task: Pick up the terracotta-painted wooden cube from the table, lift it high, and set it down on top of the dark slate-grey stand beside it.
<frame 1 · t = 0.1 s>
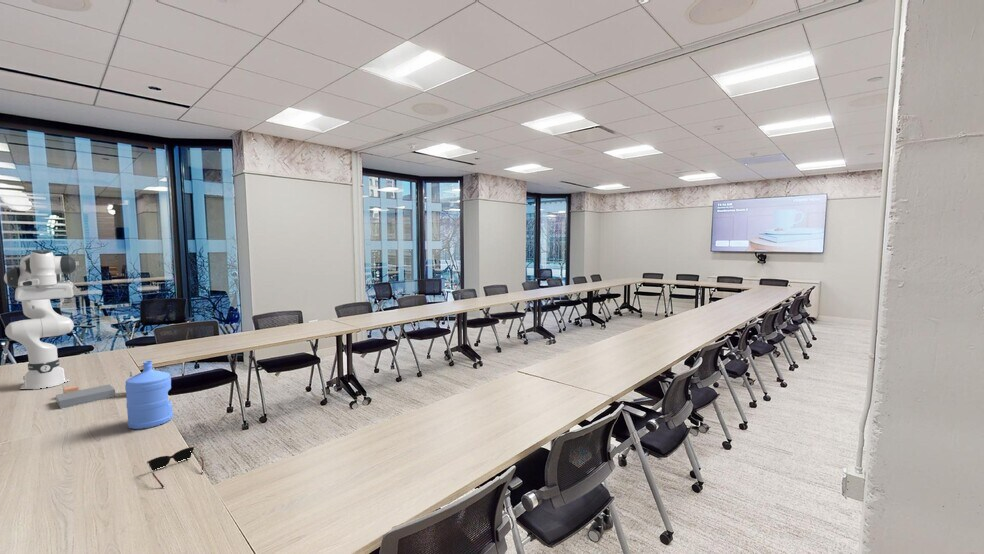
hand: (46, 308, 206), 48 cm above the table, tool pointing down, fingers open, 8 cm apart
cube: (71, 396, 211), on the table
mug: (136, 394, 216), on the table
stand: (86, 399, 207), on the table
sunglasses: (177, 474, 140), on the table
water jug: (151, 422, 180), on the table
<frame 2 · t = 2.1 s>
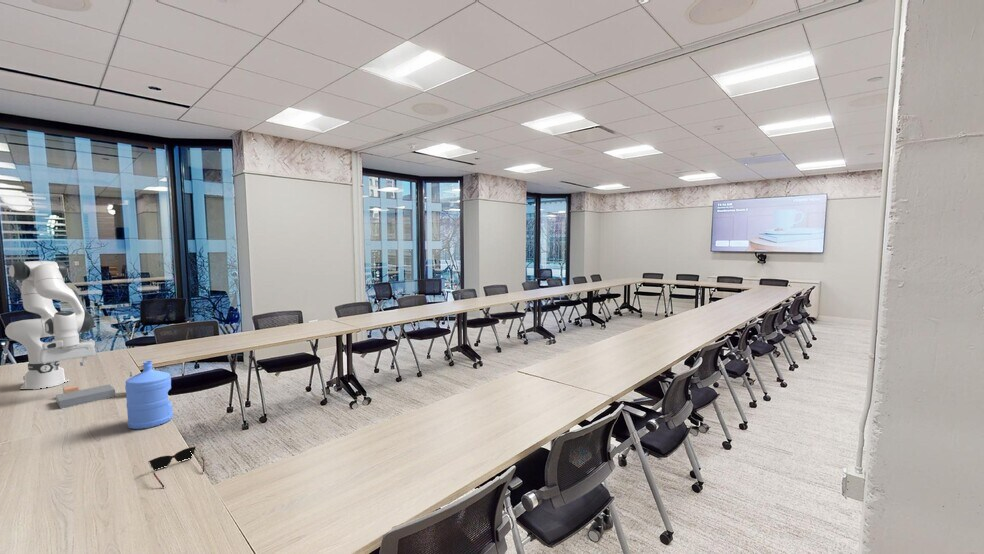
hand: (69, 367, 210), 16 cm above the table, tool pointing down, fingers open, 8 cm apart
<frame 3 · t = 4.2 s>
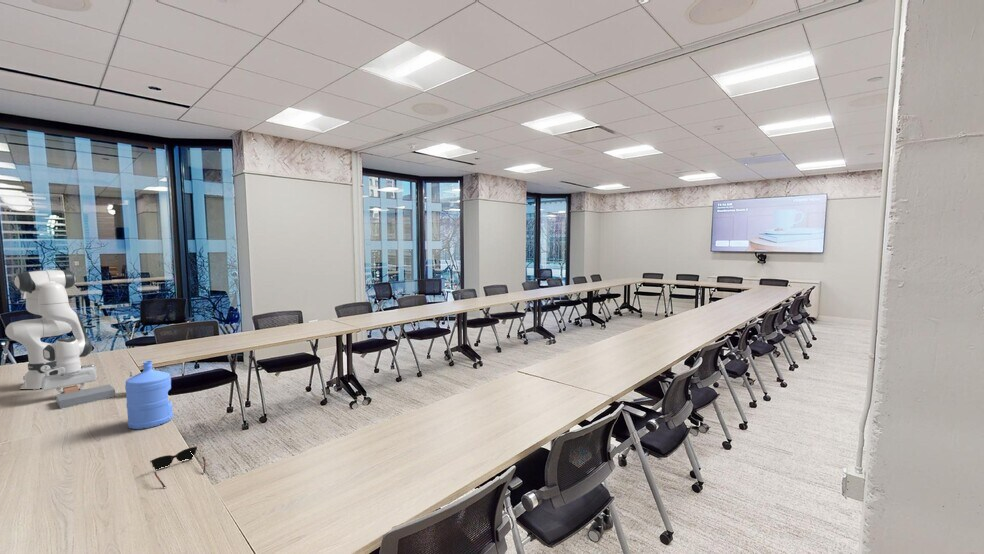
hand: (71, 393, 211), 2 cm above the table, tool pointing down, fingers closed on cube, 5 cm apart
cube: (71, 396, 211), on the table, touching gripper
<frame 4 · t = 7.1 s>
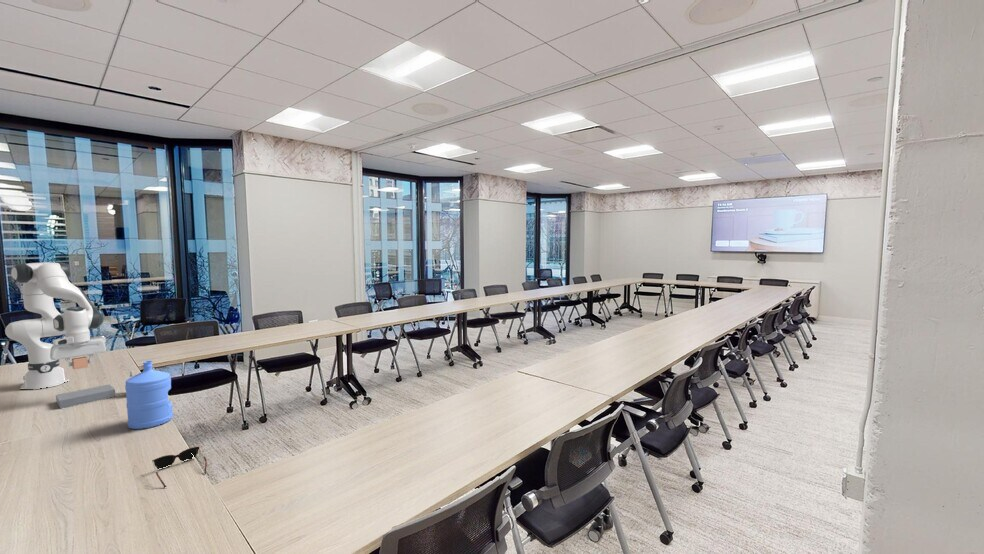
hand: (80, 364, 206), 18 cm above the table, tool pointing down, fingers closed on cube, 5 cm apart
cube: (80, 367, 206), point 17 cm above the table, touching gripper
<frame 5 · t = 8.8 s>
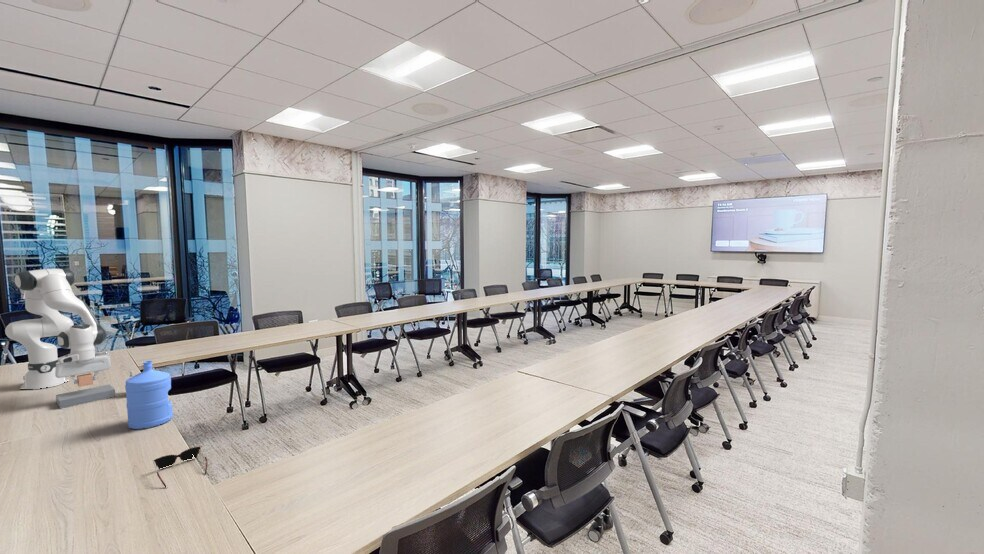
hand: (85, 381, 206), 10 cm above the table, tool pointing down, fingers closed on cube, 5 cm apart
cube: (85, 384, 206), point 8 cm above the table, touching gripper
when the fingers open (7 cm above the table, at t = 10.1 s): cube drops 1 cm, resting on stand.
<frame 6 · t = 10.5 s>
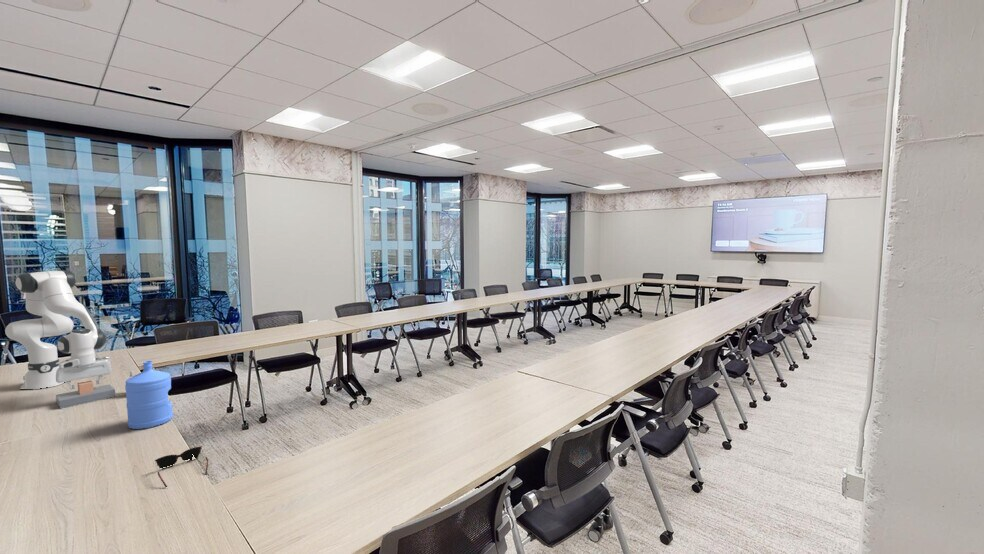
hand: (85, 386, 206), 7 cm above the table, tool pointing down, fingers open, 8 cm apart
cube: (85, 392, 207), point 4 cm above the table, touching stand
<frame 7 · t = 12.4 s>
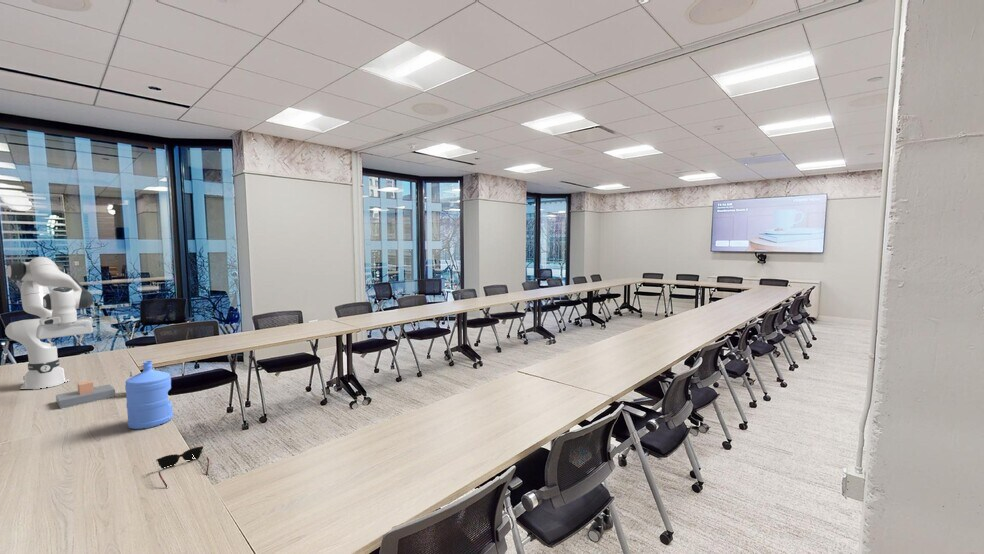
hand: (66, 344, 208), 28 cm above the table, tool pointing down, fingers open, 8 cm apart
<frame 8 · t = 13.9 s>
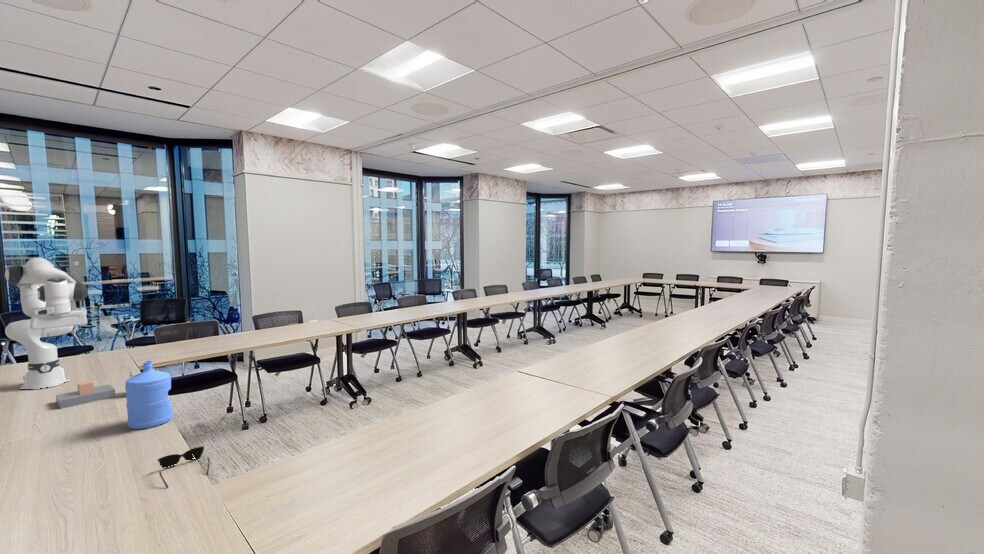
hand: (60, 335, 208), 33 cm above the table, tool pointing down, fingers open, 8 cm apart
at the end: cube inside the target area on the stand (0.0 cm from its centre), point 4.0 cm above the stand's base; cube tilted 0°; the gripper is holding nothing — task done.
